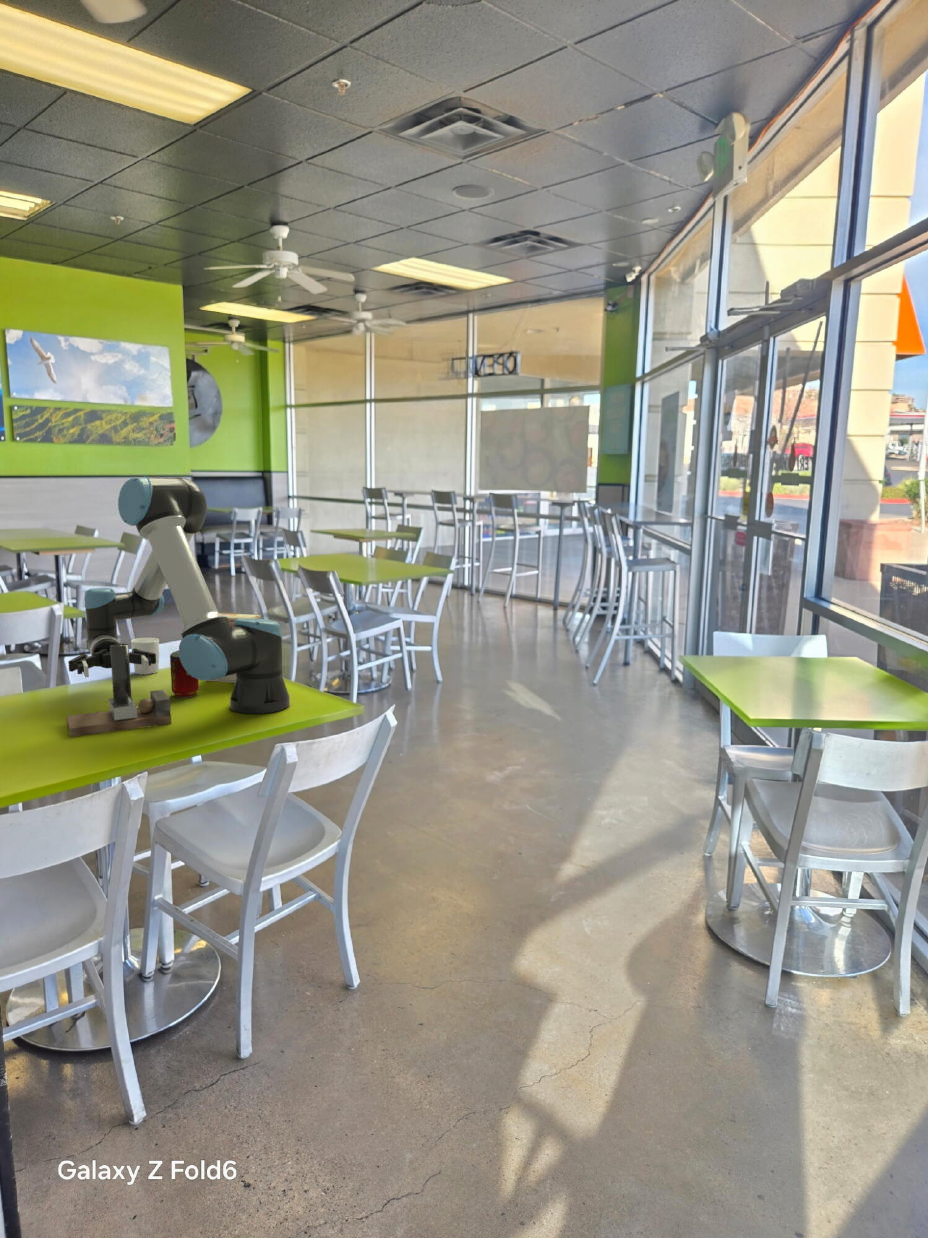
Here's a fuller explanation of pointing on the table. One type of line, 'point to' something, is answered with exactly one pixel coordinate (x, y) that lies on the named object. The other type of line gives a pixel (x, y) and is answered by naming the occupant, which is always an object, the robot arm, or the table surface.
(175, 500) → the robot arm
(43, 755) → the table surface
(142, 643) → the white cup
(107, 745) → the table surface
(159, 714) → the nutcracker bench
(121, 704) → the post
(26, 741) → the table surface
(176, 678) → the soda can
